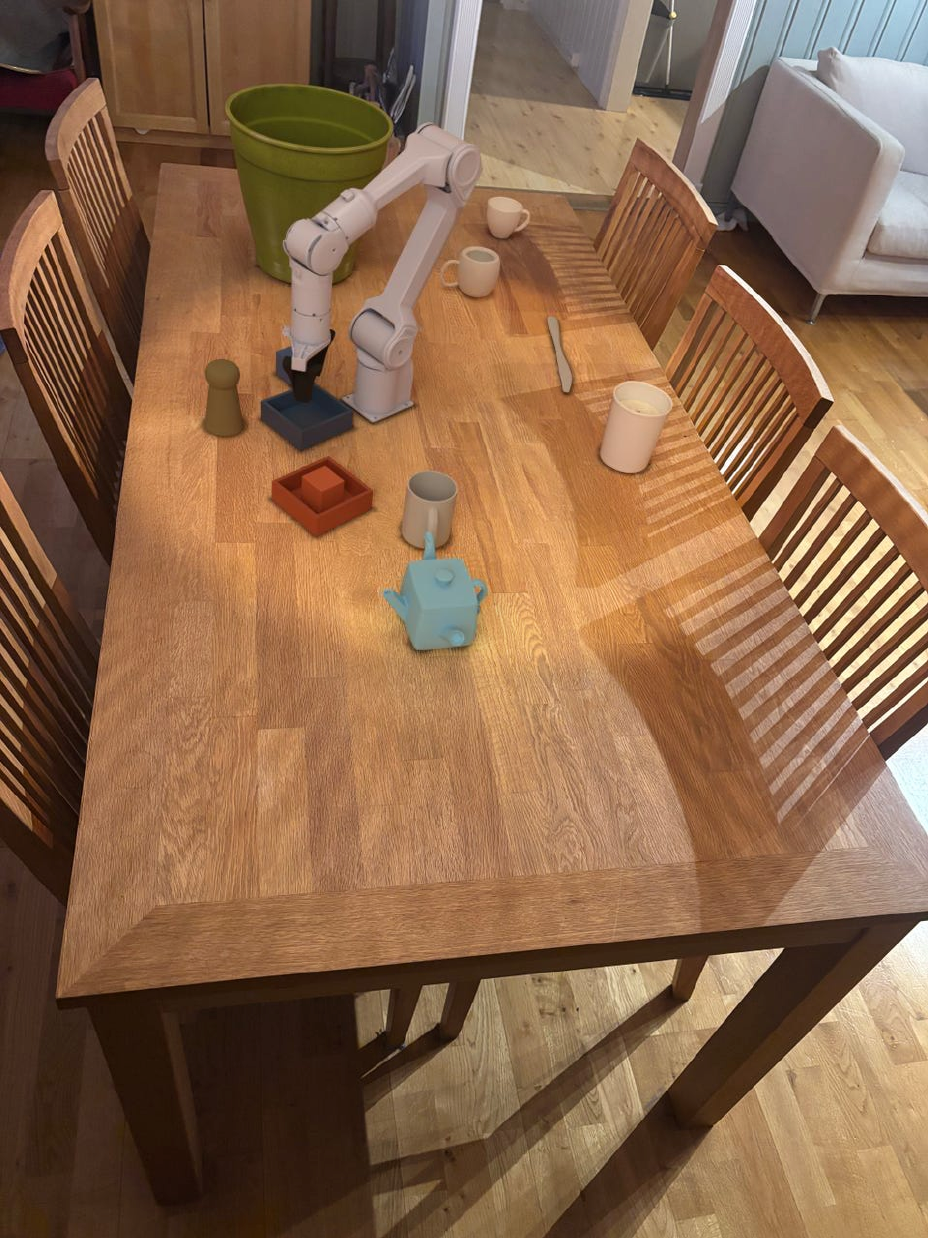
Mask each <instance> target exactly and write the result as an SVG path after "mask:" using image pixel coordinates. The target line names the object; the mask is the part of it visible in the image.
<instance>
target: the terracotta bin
mask: <svg viewBox="0 0 928 1238" xmlns="http://www.w3.org/2000/svg"><path fill="white" fill-rule="evenodd" d="M323 466H326V467H328V468H329V469H330V470H331V471H333V472H334V473H335V474H336V475H338V476H339V477H340V478H342V479H343V480H344V481H345V483H344V496H343V502H342V503H340V504H338V505H336V506H334V507H332V508H330V509H328V510H326V511H324V512H322V513H320V514H318V513H317V512H316V511H314V510H313V509H312V508H311V507H309V506H308V505H307V504H306V503H305V502H303V501H302V500H301V488H302V476H303V475H306V474H308V473H310V472H312V471H315V470H317V469H319V468H321V467H323ZM373 499H374V490H373V488H371V487H369V486H368V485H367V484H366V483H364V482H363V481H362V480H360V479H359V478H358V477H357V476H356V475H354V474H353V473H352V472H350V471H349V470H347V469H346V468H345V467H343V465H341V464H340V463H339V462H337V461H336V460H334V459H333V458H332V457H331V456H330V455H327V456H325V457H322V458H320V459H318V460H315V461H313V462H311V463H308V464H307V465H305V466H302V467H300V468H298V469H295V470H293V471H291V472H289V473H286V474H284V475H281V476H280V477H277V478H275V479H273V480H272V481H271V501H273V502H274V503H275V504H276V505H277V506H278V507H280V508H281V509H282V510H283V511H285V513H287V514H288V515H289V516H291V517H292V518H293V519H294V520H295V521H296V522H298V523H299V524H300V525H301V526H303V527H304V528H305V530H307V531H308V532H310V533H311V534H312V535H313V536H314V537H319V536H321V535H322V534H325V533H326V532H329V531H331V530H332V529H335V528H336V527H338V526H341V525H342V524H344V523H346V522H349V521H350V520H352V519H355V518H356V517H358V516H360V515H362V514H364V513H367V512H368V511H371V510H372V507H373Z"/></svg>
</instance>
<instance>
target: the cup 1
mask: <svg viewBox="0 0 928 1238" xmlns="http://www.w3.org/2000/svg"><path fill="white" fill-rule="evenodd" d="M405 489H406V490H405V497H404V502H403V503H404V505H403V511H402V519H401V526H400V527H401V528H400V531H401V535H402V536H403V538H404V540H405V541H406V542H407V543H408V544H409V545H411V546H413V547H415V548H418V549H422V550H425V533H426V532H430V533H431V534H432V536H433V538H434V544H435V549H438V548H439V547H442V546H444V545H445V544H446V543H447V542H448V540H449V538H450V535H451V531H452V526H453V525H452V524H453V520H454V519H453V518H454V513H455V508H456V503H457V499H458V498H457V496H458V490H459V487H458V484H457V482H456V481H455V479H453V478H452V477H451V476H449V475H448V474H446V473H443V472H441V471H437V470H429V469H428V470H426V469H425V470H420V471H417V472H414V473H412V474H411V475H410V476H409V477H408V479H407V482H406V488H405Z"/></svg>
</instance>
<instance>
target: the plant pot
mask: <svg viewBox="0 0 928 1238" xmlns="http://www.w3.org/2000/svg"><path fill="white" fill-rule="evenodd" d="M224 109H225V110H224V111H225V115H226V117H227V119H228V122H229V130H230V132H229V133H230V142H231V145H232V147H233V152H234V161H235V165H236V166H235V167H236V172H237V177H238V181H239V186H240V191H241V196H242V200H243V205H244V209H245V214H246V217H247V222H248V224H249V228H250V231H251V236H252V238H253V241H254V245H255V247H254V248H255V259H256V260H255V261H256V262H257V264H258V266H259V268H261V270H263V271H264V272H265V273H266V274H268V275H269V276H270V277H273V278H275V279H277V280H279V281H282V282H285V283H289V284H292V269H291V267H290V259H289V256H288V255H287V254H286V252H285V251H284V248H283V240H285V239H286V235H287V232H288V230H289V228H290V227H291V225H292V224H294V223H295V222H296V221H299V220H302V219H305V220H306V219H312V218H313V217H314V216H316V215H317V214H318V213H319V212H321V211H322V210H323V209H325V208H326V207H327V206H328V205H330V204H331V203H332V202H333V201H335V200H336V199H337V198H338V197H340V194H341V193H342V192H344V191H345V190H348V189H350V188H356V189H360V190H362V189H364V188H365V187H366V186H367V185H368V184H369V183H370V182H371V181H372V180H373V179H374V178H375V177H376V176H378V175H379V174H380V173H381V172H382V171H383V170H382V169H383V166H384V164H385V162H386V159H387V152H388V145H389V141H390V139H391V138H392V135H393V132H394V122H393V120H392V118H391V117H390V116H389V115H388V114H387V112H386V111H384V110H383V109H382V108H380V107H379V106H377V105H376V104H374V103H372V102H370V101H368V100H367V99H364V98H361V97H359V96H357V95H354V94H350V93H347V92H345V91H340V90H337V89H333V88H327V87H323V86H318V85H317V86H316V85H308V84H297V83H270V84H262V85H254V86H250V87H247V88H244V89H243V88H242V89H240V90H239V91H236V92H235V93H233V94H232V95H230V96H229V97H228V98H227V100H226V102H225V104H224ZM363 235H364V234H362V235H361V236H360V237H359V238H358V239H356V240H355V241H354V242H353V243H351V244H350V245H349V246H348V247H349V249H347V252H346V253H345V254H344V255H343V258H342V260H341V262H340V264H339V266H338V267H337V268H336V270H333V279H332V285H333V284H336V283H339V282H341V281H343V280H345V279H346V278H348V277H349V276H350V275H351V273H352V271H353V270H354V264H355V256H356V252H357V251H358V248H359V246H360V243H361V241H362V238H363Z"/></svg>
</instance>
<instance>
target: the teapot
mask: <svg viewBox="0 0 928 1238" xmlns="http://www.w3.org/2000/svg"><path fill="white" fill-rule="evenodd" d="M423 551H424V552H423V555H422V558H421V560H412V561H409V562H408V563H407V566H406V567H405V568H406V569H405V572H404V575H403V578H402V581H401V585H400V589H399V592H397V591H395V590H394V589H392V587H391V588H388V589H384V590H381V594H382V596H383V598H384V600H385V601H386V602H387V603H388V604H389V605H390V607H391V608H392V609H393V610H394V611H395V613H396V614H397V615H398V617H400V619H401V620H402V622H403V624H404V627H405V631H406V633H407V635H408V638H409V641H410V643H411V645H412V647H413V649H414V650H416V651H427V650H428V651H429V650H441V649H451V648H460V647H467V646H470V645H472V643H473V642H474V640H475V637H476V634H477V627H478V616H479V615H480V614H481V612H482V609H481V605H480V604H481V603H482V602H483V600H484V599H485V598H486V597H487V595H488V592H489V591H488V590H489V589H488V588H489V587H488V586H487V584H486V582H484V580H482V579H479V578H471V575H470V573H469V571H468V568H467V566H466V564H465V562H464V561H463V559H462V558H458V557H457V558H456V557H455V558H453V557H452V558H438V557H437V552H436V548H435V544H434V538H433V536H432V534H431V533H430V532H426V533H425V549H424V550H423ZM475 588H479V589H480V590H479V591H478V593H477V592H476V589H475Z"/></svg>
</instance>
